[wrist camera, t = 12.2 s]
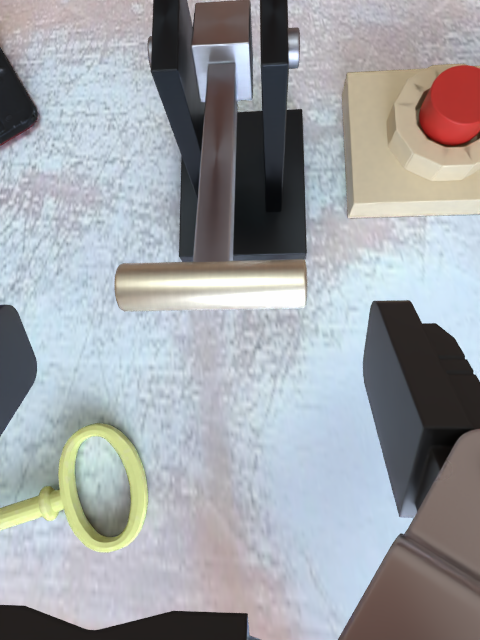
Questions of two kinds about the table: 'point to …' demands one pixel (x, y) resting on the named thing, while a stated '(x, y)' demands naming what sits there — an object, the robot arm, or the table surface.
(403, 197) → the button box
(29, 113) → the handheld console
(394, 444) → the robot arm
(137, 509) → the key
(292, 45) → the bracket
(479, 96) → the button
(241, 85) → the lever
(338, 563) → the table surface
